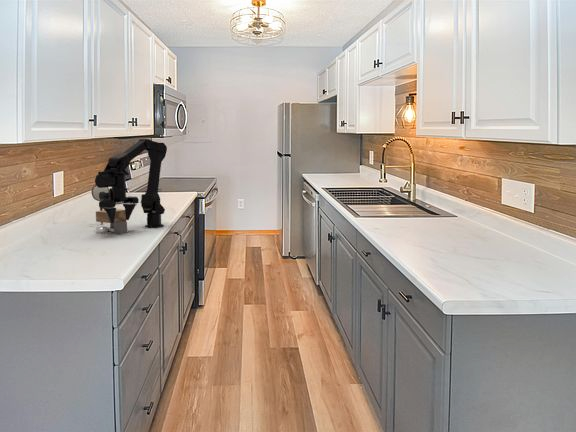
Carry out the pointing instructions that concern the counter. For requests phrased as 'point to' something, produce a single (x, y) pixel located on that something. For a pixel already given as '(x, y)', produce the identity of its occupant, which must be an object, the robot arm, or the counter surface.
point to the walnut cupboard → (103, 217)
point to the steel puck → (102, 229)
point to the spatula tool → (119, 227)
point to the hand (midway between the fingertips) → (120, 221)
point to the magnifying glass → (96, 192)
